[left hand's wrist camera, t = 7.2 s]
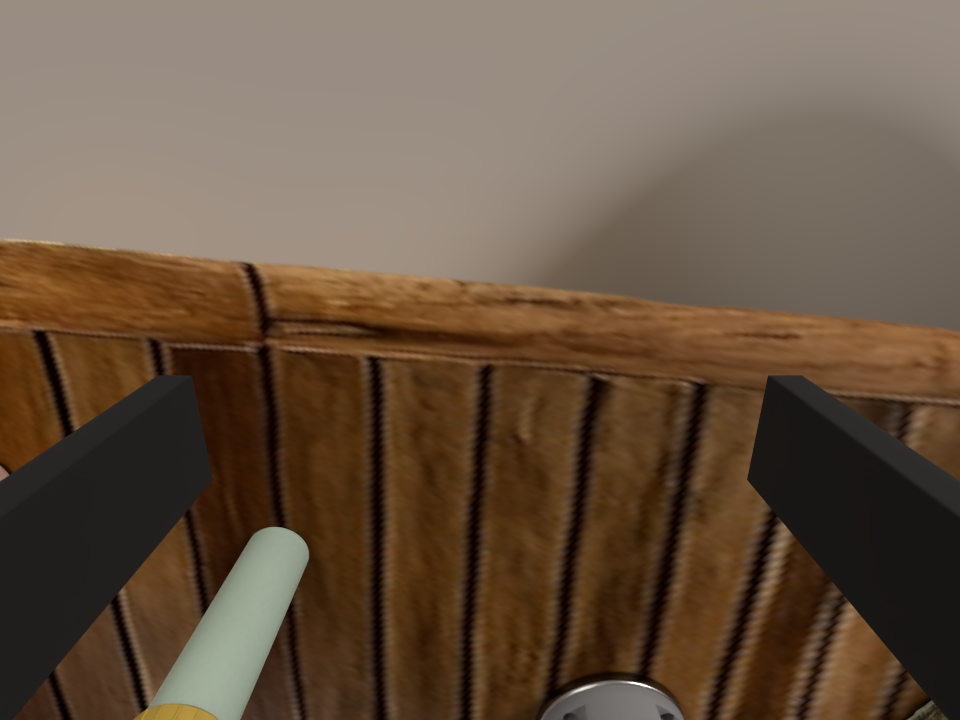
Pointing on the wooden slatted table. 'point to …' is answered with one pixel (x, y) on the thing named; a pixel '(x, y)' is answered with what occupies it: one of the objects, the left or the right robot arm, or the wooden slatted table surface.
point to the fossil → (928, 713)
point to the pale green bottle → (238, 628)
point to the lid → (175, 713)
